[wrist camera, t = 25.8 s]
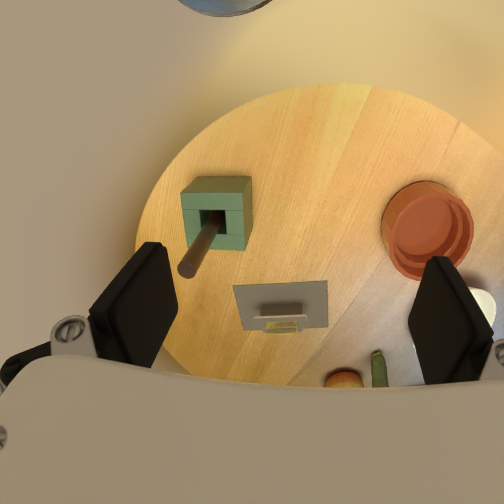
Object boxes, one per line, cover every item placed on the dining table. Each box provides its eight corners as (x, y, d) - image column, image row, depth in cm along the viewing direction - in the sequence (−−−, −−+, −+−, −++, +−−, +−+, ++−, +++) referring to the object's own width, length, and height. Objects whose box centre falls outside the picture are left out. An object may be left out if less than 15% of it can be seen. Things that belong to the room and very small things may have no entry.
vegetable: (384, 357, 64) (396, 431, 47) (367, 362, 66) (375, 435, 49) (382, 346, 62) (395, 422, 45) (364, 351, 64) (373, 427, 47)
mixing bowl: (387, 175, 44) (397, 187, 39) (466, 186, 42) (483, 198, 37) (374, 260, 52) (380, 279, 47) (447, 263, 50) (458, 281, 45)
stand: (197, 176, 49) (180, 192, 42) (251, 176, 48) (242, 193, 41) (202, 225, 54) (187, 248, 47) (252, 227, 53) (245, 250, 46)
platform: (328, 327, 61) (329, 350, 56) (243, 330, 65) (238, 352, 60) (327, 280, 56) (329, 303, 50) (232, 285, 59) (225, 307, 54)
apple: (354, 360, 66) (357, 387, 59) (367, 380, 69) (370, 406, 62) (317, 373, 70) (316, 400, 63) (333, 392, 73) (333, 417, 66)
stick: (218, 198, 51) (175, 261, 34) (231, 198, 50) (194, 263, 33) (219, 210, 52) (178, 278, 35) (232, 210, 51) (196, 279, 34)
